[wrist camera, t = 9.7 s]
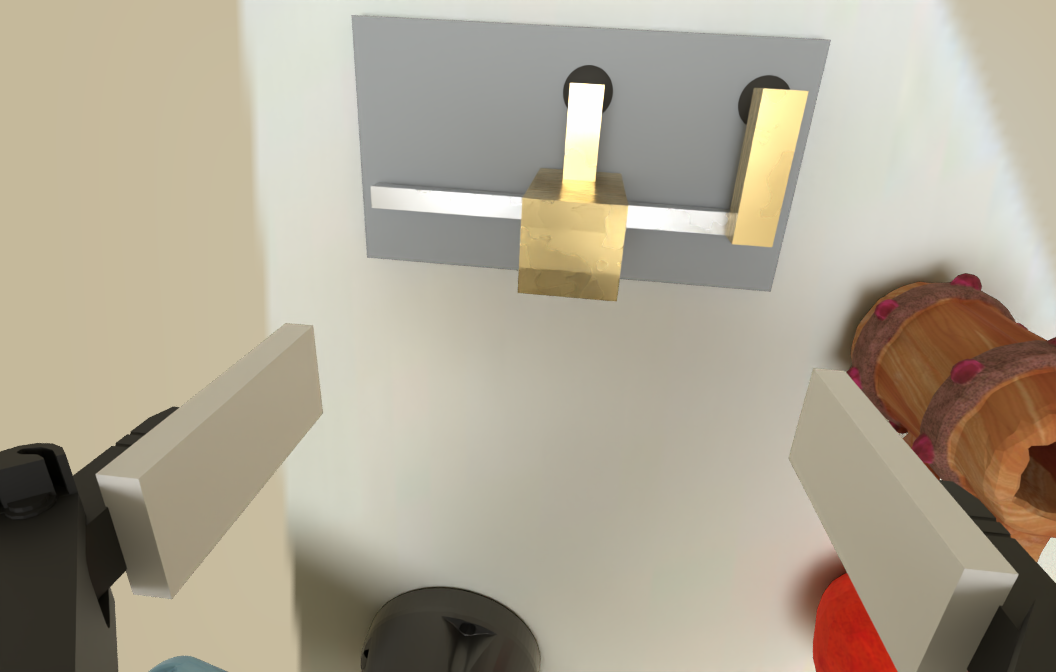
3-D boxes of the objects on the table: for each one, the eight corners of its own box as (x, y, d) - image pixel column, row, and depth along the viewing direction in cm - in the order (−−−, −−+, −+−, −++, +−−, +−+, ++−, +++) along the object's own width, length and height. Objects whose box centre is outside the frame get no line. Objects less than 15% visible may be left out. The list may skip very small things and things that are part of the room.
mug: (870, 243, 33) (1060, 362, 20) (1014, 272, 33) (1306, 412, 19) (779, 451, 39) (875, 651, 26) (899, 476, 39) (1060, 691, 26)
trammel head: (535, 242, 34) (517, 292, 26) (545, 80, 30) (527, 83, 22) (612, 248, 33) (616, 301, 26) (631, 85, 30) (642, 89, 22)
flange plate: (374, 251, 37) (366, 257, 36) (360, 17, 31) (351, 15, 30) (765, 284, 35) (771, 291, 34) (822, 41, 29) (831, 39, 28)
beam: (380, 202, 34) (359, 214, 31) (373, 65, 31) (349, 64, 28) (765, 232, 32) (782, 248, 29) (798, 90, 29) (820, 91, 26)
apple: (849, 655, 46) (928, 838, 35) (759, 592, 45) (811, 762, 34) (960, 588, 42) (1088, 770, 31) (866, 516, 41) (965, 681, 30)
